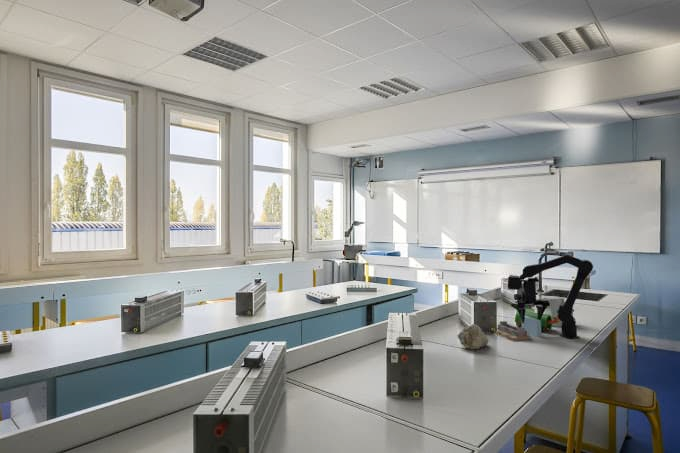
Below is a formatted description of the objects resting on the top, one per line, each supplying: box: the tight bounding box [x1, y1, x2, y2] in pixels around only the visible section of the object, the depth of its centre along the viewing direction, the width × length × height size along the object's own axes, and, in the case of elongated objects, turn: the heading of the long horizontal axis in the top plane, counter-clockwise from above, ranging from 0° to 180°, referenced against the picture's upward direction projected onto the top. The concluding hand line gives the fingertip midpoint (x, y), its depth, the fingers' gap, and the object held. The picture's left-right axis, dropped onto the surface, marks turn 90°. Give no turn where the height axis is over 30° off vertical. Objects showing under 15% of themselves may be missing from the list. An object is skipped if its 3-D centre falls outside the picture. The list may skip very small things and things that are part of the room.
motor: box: [514, 310, 559, 332], centre depth 215 cm, size 10×9×20 cm
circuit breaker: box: [542, 295, 575, 327], centre depth 224 cm, size 8×14×15 cm, turn 89°
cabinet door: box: [521, 316, 542, 338], centre depth 207 cm, size 12×3×8 cm, turn 12°
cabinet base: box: [496, 320, 532, 341], centre depth 205 cm, size 20×10×6 cm, turn 12°
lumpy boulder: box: [457, 323, 489, 350], centre depth 187 cm, size 11×11×15 cm
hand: (531, 320), depth 207 cm, fingers open, 9 cm apart
